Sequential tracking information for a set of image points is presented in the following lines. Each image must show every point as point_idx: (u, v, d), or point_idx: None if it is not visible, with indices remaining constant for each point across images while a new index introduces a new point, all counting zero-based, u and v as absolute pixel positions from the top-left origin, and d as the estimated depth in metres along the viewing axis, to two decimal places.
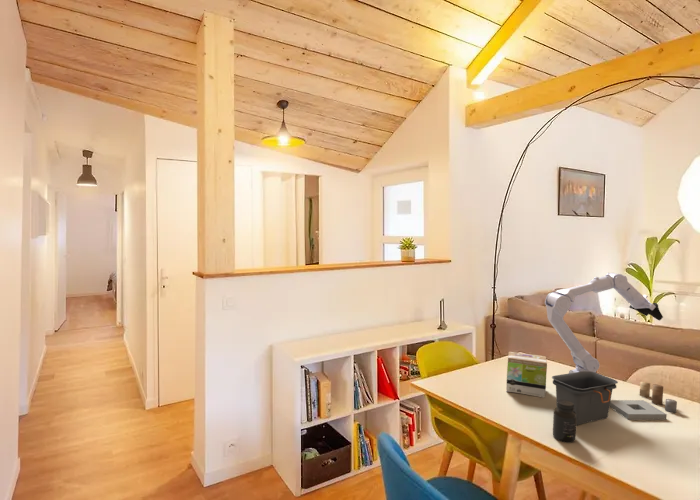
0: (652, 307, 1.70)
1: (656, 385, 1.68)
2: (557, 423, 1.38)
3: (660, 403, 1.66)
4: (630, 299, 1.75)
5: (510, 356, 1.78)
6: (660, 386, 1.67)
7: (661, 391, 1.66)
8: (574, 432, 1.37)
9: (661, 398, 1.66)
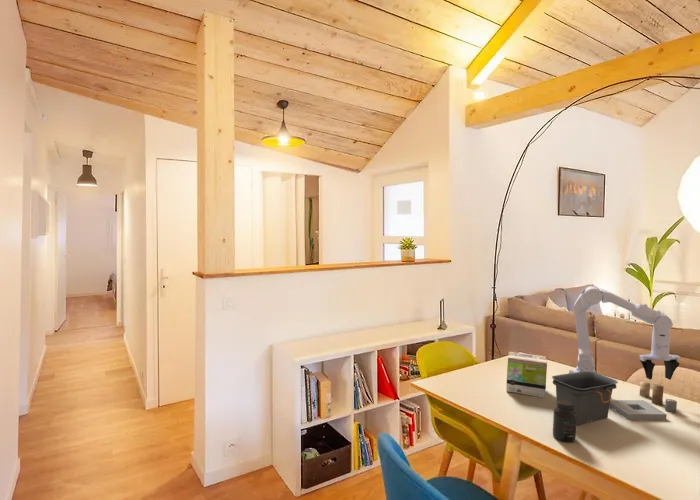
0: (641, 358, 1.67)
1: (656, 385, 1.68)
2: (557, 423, 1.38)
3: (660, 403, 1.66)
4: None
5: (510, 356, 1.78)
6: (660, 386, 1.67)
7: (661, 391, 1.66)
8: (574, 432, 1.37)
9: (661, 398, 1.66)
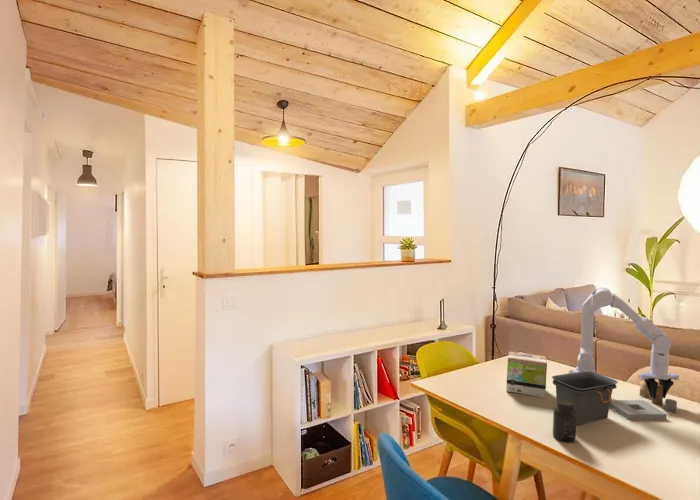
0: (640, 376, 1.67)
1: None
2: (557, 423, 1.38)
3: (660, 403, 1.66)
4: None
5: (510, 356, 1.78)
6: (660, 386, 1.67)
7: (661, 390, 1.66)
8: (574, 432, 1.37)
9: (661, 398, 1.66)
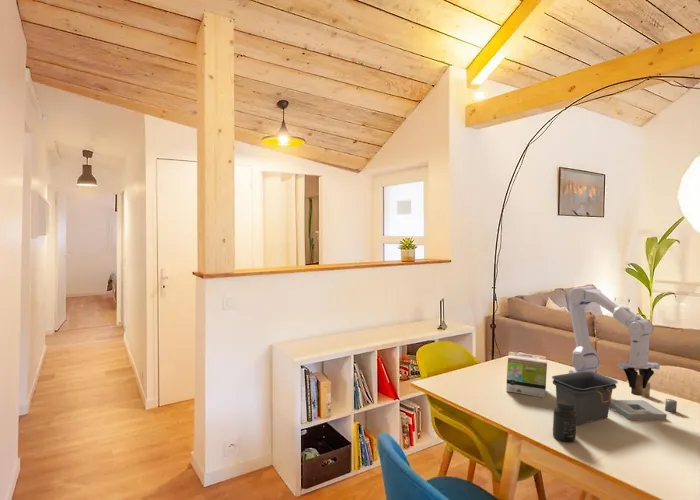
0: (618, 366, 1.58)
1: None
2: (557, 423, 1.38)
3: (639, 394, 1.58)
4: None
5: (510, 356, 1.78)
6: (639, 376, 1.58)
7: (640, 381, 1.57)
8: (574, 432, 1.37)
9: (640, 388, 1.57)
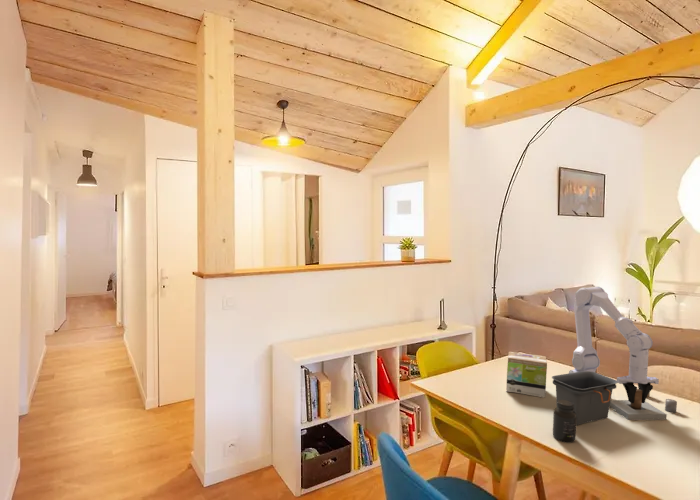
0: (618, 380, 1.59)
1: None
2: (557, 423, 1.38)
3: (638, 408, 1.58)
4: None
5: (510, 356, 1.78)
6: (639, 390, 1.58)
7: (639, 395, 1.58)
8: (574, 432, 1.37)
9: (639, 403, 1.58)
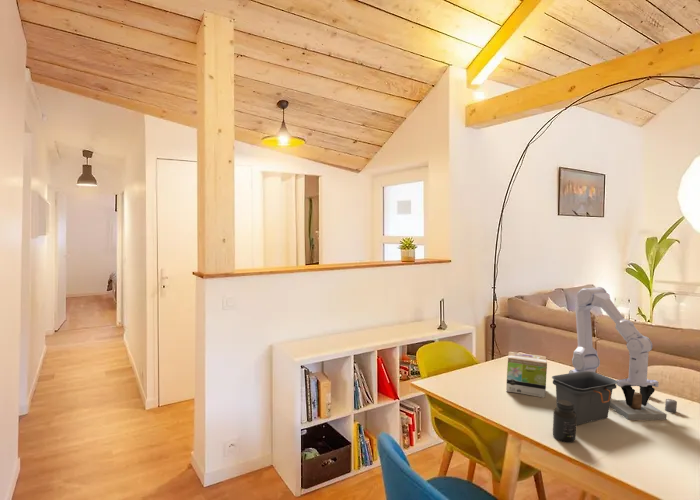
0: (617, 383, 1.59)
1: (634, 393, 1.60)
2: (557, 423, 1.38)
3: None
4: None
5: (510, 356, 1.78)
6: (638, 394, 1.58)
7: (638, 399, 1.58)
8: (574, 432, 1.37)
9: (639, 407, 1.58)
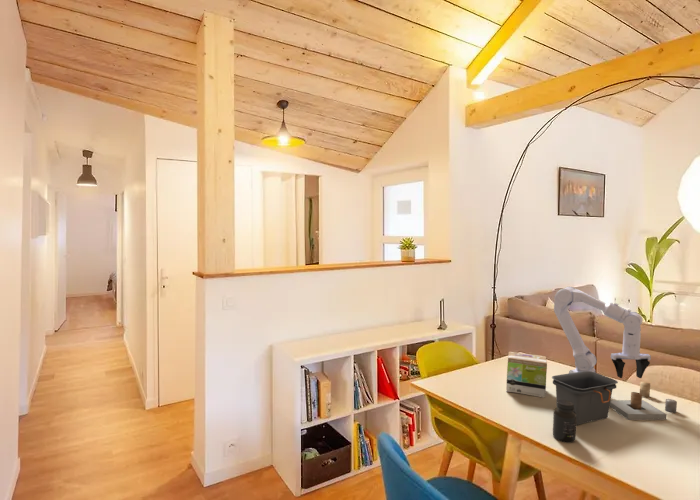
0: (611, 356, 1.68)
1: (635, 393, 1.60)
2: (557, 423, 1.38)
3: None
4: None
5: (510, 356, 1.78)
6: (638, 394, 1.58)
7: (639, 399, 1.58)
8: (574, 432, 1.37)
9: (639, 407, 1.58)
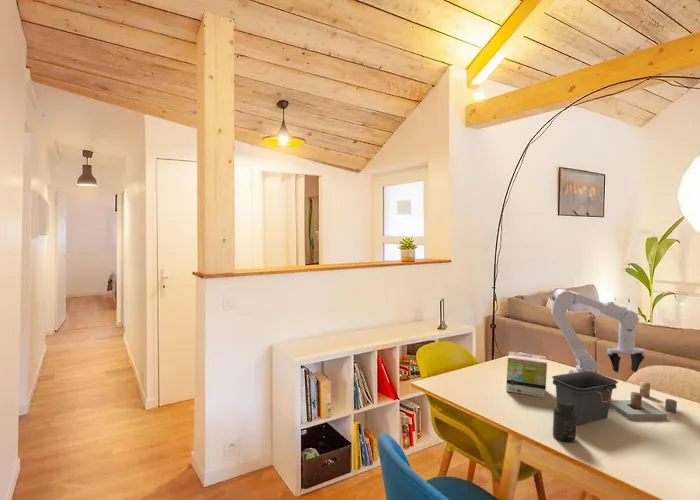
0: (608, 351, 1.74)
1: (634, 393, 1.60)
2: (557, 423, 1.38)
3: None
4: None
5: (510, 356, 1.78)
6: (638, 394, 1.58)
7: (638, 399, 1.58)
8: (574, 432, 1.37)
9: (639, 407, 1.58)
